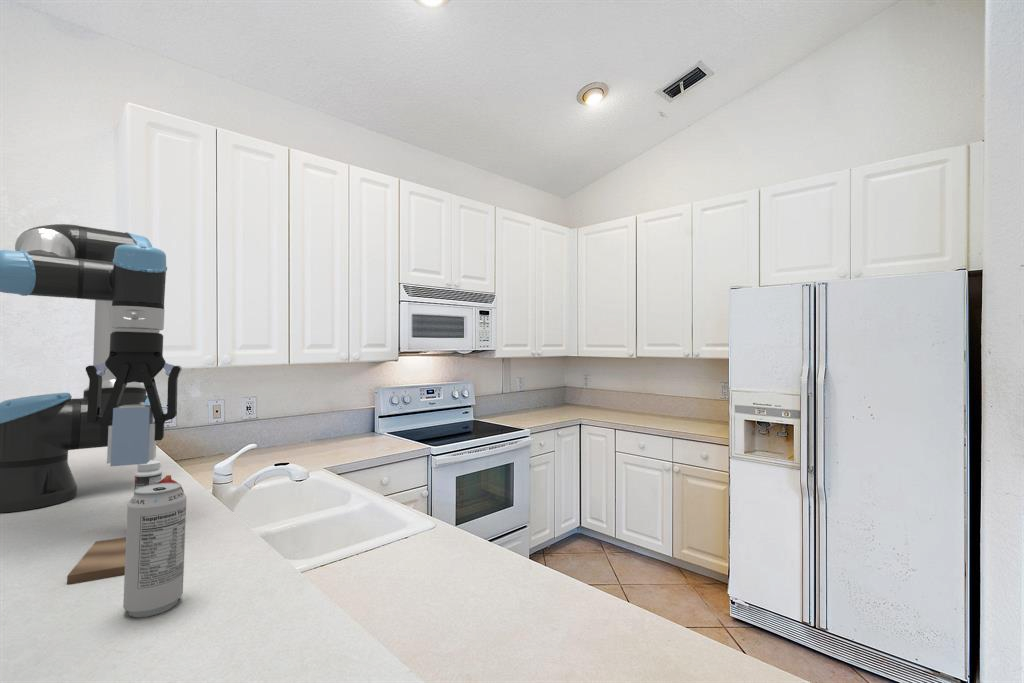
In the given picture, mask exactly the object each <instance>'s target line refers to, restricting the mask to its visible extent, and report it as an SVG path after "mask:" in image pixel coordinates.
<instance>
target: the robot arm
mask: <svg viewBox="0 0 1024 683" xmlns="http://www.w3.org/2000/svg"><path fill="white" fill-rule="evenodd" d="M167 271H168V266H167V255H166V253H165V251H163V250H162V249H160V248H156V247H153V245H152V243H151V241H150V240H149V238H148V237H146V236H144V235H138V234H134V233H130V232H126V231H125V232H122V231H114V230H110V229H109V230H108V229H103V228H95V227H89V226H82V225H77V224H69V223H68V224H63V223H59V224H58V223H57V224H55V223H54V224H45V225H41V226H40V225H39V226H36V227H35V226H34V227H32V228H28V229H27V230H25V231H23V232H22V233H20V234H19V236H18V237H17V238H16V240H15V244H14V250H8V249H1V250H0V293H3V294H11V295H13V294H14V295H20V296H22V297H23V296H25V297H26V296H36V297H51V298H52V297H53V298H65V299H66V298H67V299H77V300H78V299H79V300H91V301H92V300H93V301H95V302H94V329H93V331H94V332H93V334H94V335H93V358H92V359H93V360H92V362H93V363H92V365H86V367H85V372H86V374H87V377H88V380H89V383H88V386H87V387H86V388H85V389H83V394H82V395H83V397H82V398H72V395H71V393H70V392H58V393H57V392H56V393H45V394H39V395H38V394H37V395H31V396H25V397H23V396H22V397H18V398H17V397H16V398H11V399H7V400H3V401H1V402H0V514H1V513H12V512H13V513H14V512H20V511H27V510H34V509H39V508H44V507H49V506H53V505H58V504H62V503H64V502H67V501H70V500H72V499H74V498H76V497H77V495H78V494H77V492H78V491H77V490H78V486H77V482H76V481H75V477H74V475H73V473H72V471H71V467H70V466H69V462H68V460H69V451H73V450H74V451H75V450H82V449H83V450H84V449H85V450H86V449H95V448H106V447H107V451H106V453H107V454H106V464H111V444H112V423H113V408H116V407H118V406H123V405H145V404H149V405H150V406H151V409H152V413H153V416H154V422H152V423H151V424H150V428H149V451H148V460H150V461H155V460H154V459H155V458H157V441H162V440H163V438H164V436H165V423H166V422H167V421H170V420H172V419H175V418H176V417H177V414H178V412H177V411H178V378H179V376H180V374H181V372H182V368H183V367H182V366H181V365H175V364H171V363H168V362H166V360H165V357H164V355H163V354H164V335H163V333H160V331H164V327H165V326H164V325H165V296H166V294H165V293H166V281H167V280H166V279H167V278H166V276H167ZM163 369H164V370H165V375H166V376H168V378H167V398H166V399H167V405H166V406H167V408H166V413H164V410H163V406H162V403H161V398H160V396H159V395H160V394H159V392H158V389H157V383H156V380H155V378H156V376H157V375H159V373H161V371H162V370H163ZM142 383H143V384H142Z"/></svg>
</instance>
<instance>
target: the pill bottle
mask: <svg viewBox="0 0 1024 683" xmlns="http://www.w3.org/2000/svg"><path fill="white" fill-rule="evenodd" d="M160 468H161V461H160V460H150V461H149V462H148V463H147V464H137V471H136V472H135V473H134V485H133V486H134V488H133V495H134V494H135V493H134V491H135V490H136V489H137V488H140V487H143V486H147V485H153V484H157V483H159V482H160V481H161V480H162V475H163V472H162V469H160Z"/></svg>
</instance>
